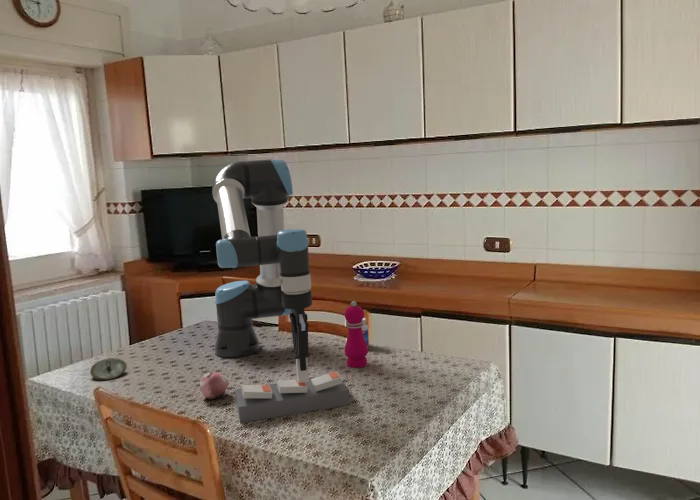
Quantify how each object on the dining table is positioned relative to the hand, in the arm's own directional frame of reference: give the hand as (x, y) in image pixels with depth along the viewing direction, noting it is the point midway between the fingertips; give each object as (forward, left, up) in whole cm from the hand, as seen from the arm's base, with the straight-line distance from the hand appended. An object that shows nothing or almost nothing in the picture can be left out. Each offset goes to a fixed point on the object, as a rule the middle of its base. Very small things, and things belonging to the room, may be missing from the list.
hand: (303, 381), depth 150 cm
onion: (-16, -22, -7) cm, 28 cm away
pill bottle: (-41, +27, -7) cm, 49 cm away
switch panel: (-2, -3, -7) cm, 8 cm away
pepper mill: (-25, +21, -7) cm, 33 cm away
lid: (-47, -53, -7) cm, 71 cm away
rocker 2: (0, -3, -1) cm, 3 cm away
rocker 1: (0, -12, -1) cm, 12 cm away
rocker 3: (0, +6, -1) cm, 6 cm away
